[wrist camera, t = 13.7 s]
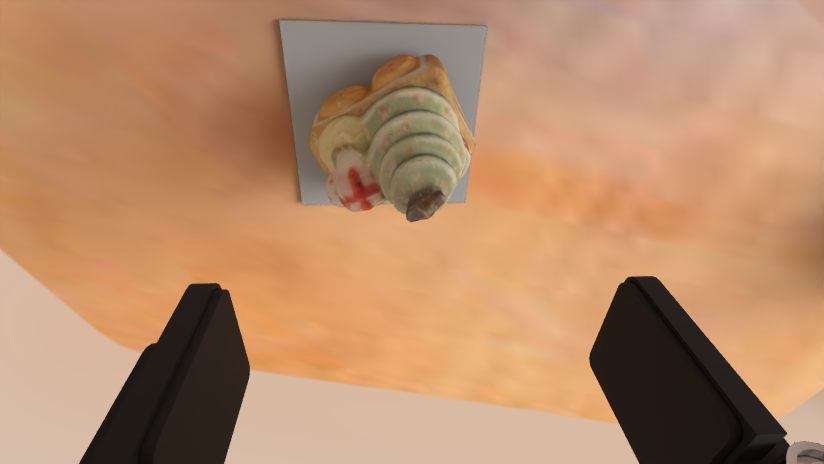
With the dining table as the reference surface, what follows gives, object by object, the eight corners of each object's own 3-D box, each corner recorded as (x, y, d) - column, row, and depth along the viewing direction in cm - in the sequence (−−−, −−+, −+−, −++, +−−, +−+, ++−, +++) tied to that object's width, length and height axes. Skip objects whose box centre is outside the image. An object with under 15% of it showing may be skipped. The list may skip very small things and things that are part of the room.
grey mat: (485, 25, 21) (487, 26, 21) (464, 199, 27) (465, 203, 26) (280, 19, 20) (279, 20, 20) (302, 201, 26) (302, 205, 25)
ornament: (361, 199, 25) (358, 319, 17) (294, 115, 22) (251, 213, 14) (477, 130, 24) (537, 227, 15) (423, 28, 20) (461, 81, 12)
